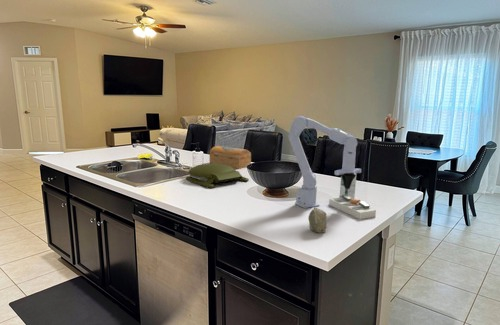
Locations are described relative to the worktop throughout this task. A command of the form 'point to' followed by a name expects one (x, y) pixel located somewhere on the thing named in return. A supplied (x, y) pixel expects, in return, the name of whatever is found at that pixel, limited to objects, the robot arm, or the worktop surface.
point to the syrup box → (350, 191)
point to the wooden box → (230, 156)
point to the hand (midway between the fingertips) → (347, 188)
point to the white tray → (352, 208)
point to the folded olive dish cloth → (214, 174)
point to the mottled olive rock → (317, 220)
